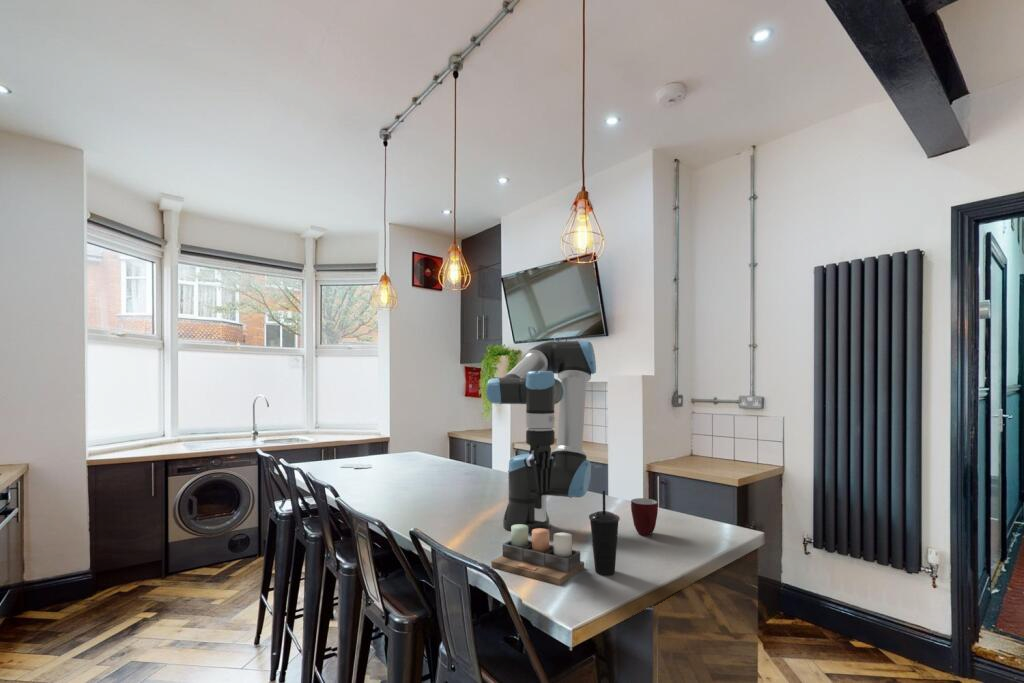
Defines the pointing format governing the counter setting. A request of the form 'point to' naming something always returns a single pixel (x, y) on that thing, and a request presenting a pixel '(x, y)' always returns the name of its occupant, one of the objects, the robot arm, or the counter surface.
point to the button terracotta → (540, 540)
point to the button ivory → (563, 545)
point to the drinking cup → (604, 540)
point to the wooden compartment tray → (538, 563)
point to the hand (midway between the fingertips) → (540, 520)
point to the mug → (644, 515)
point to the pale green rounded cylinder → (519, 535)
